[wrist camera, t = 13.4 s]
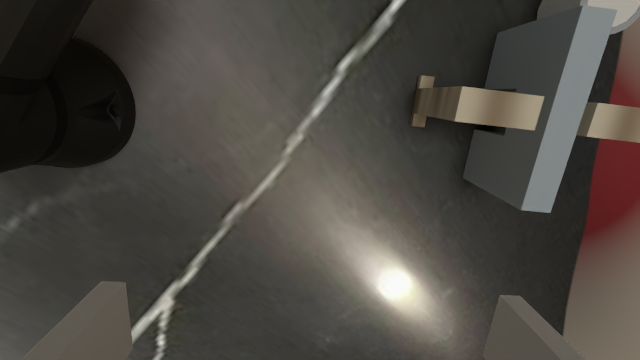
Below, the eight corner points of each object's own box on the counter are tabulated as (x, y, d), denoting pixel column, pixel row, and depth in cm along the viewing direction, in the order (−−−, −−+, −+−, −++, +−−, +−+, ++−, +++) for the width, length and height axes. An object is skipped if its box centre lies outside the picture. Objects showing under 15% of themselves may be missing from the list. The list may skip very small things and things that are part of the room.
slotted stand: (409, 125, 39) (450, 138, 28) (418, 75, 38) (466, 68, 26) (557, 141, 41) (656, 160, 29) (572, 94, 39) (683, 95, 28)
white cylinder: (529, -11, 36) (580, -35, 29) (588, -27, 35) (654, -55, 29) (533, 51, 38) (581, 42, 31) (589, 36, 37) (651, 24, 31)
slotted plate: (483, 179, 42) (550, 212, 30) (462, 177, 42) (521, 210, 30) (521, 36, 37) (617, 9, 25) (497, 32, 37) (583, 5, 25)
